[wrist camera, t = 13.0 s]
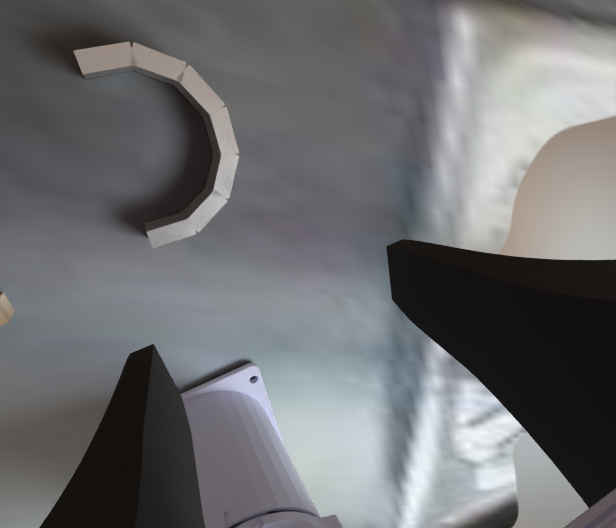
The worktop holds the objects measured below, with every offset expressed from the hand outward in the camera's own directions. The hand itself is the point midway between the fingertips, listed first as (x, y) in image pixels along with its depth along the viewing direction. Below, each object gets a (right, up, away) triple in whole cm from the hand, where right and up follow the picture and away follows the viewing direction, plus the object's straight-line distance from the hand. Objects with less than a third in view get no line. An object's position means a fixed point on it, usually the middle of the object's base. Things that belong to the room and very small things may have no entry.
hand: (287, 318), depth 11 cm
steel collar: (-6, +7, +7) cm, 12 cm away
